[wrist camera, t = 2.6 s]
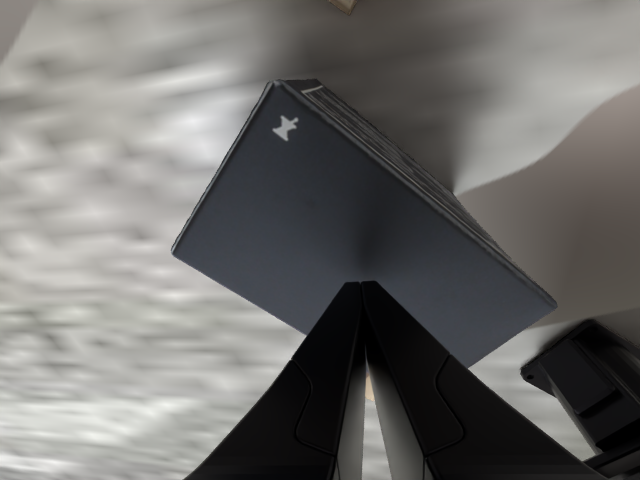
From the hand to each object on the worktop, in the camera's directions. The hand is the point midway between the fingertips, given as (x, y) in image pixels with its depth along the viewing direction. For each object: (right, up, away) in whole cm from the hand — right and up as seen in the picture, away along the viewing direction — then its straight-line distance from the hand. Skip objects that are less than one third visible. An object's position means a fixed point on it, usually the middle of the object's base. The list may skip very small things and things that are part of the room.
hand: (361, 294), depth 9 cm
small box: (+1, +5, +10) cm, 11 cm away
